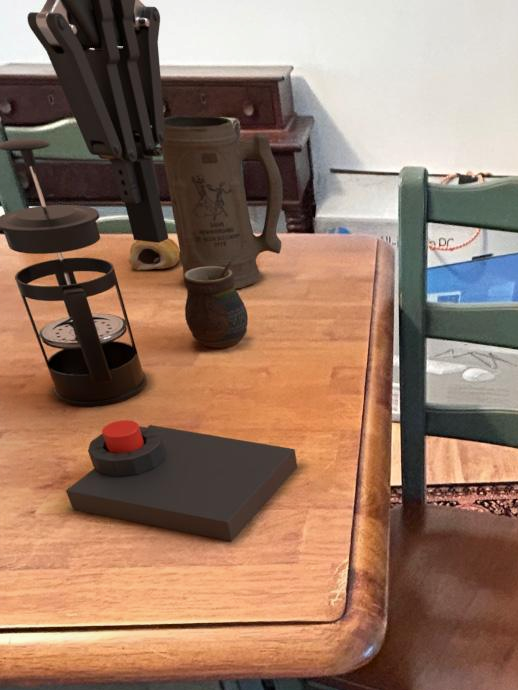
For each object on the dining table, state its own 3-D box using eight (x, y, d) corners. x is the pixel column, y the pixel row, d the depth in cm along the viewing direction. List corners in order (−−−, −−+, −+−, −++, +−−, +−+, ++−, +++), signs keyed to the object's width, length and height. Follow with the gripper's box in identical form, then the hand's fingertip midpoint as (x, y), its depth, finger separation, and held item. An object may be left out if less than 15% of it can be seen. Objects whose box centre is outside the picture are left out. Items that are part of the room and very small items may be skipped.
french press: (49, 376, 81) (-40, 134, 66) (137, 360, 85) (71, 126, 70) (63, 421, 74) (-35, 157, 58) (159, 401, 77) (90, 148, 62)
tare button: (100, 452, 63) (94, 433, 62) (121, 435, 65) (116, 417, 64) (130, 457, 62) (124, 438, 61) (151, 440, 64) (146, 422, 63)
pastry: (145, 252, 116) (139, 226, 113) (189, 252, 116) (183, 226, 114) (129, 271, 109) (122, 244, 106) (175, 271, 109) (169, 244, 107)
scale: (63, 507, 62) (48, 471, 60) (146, 441, 71) (136, 407, 68) (231, 541, 59) (223, 504, 56) (297, 467, 67) (292, 432, 65)
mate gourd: (210, 327, 93) (192, 242, 86) (264, 334, 91) (251, 248, 85) (179, 349, 87) (158, 260, 81) (236, 356, 86) (219, 267, 79)
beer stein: (185, 296, 101) (159, 124, 88) (173, 272, 108) (148, 111, 96) (295, 289, 106) (285, 127, 94) (276, 268, 114) (265, 114, 101)
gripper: (45, -123, 47) (142, 264, 63) (165, -109, 56) (224, 225, 72) (-48, -122, 49) (69, 254, 64) (84, -108, 58) (158, 218, 74)
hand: (151, 238), depth 68 cm, fingers closed
